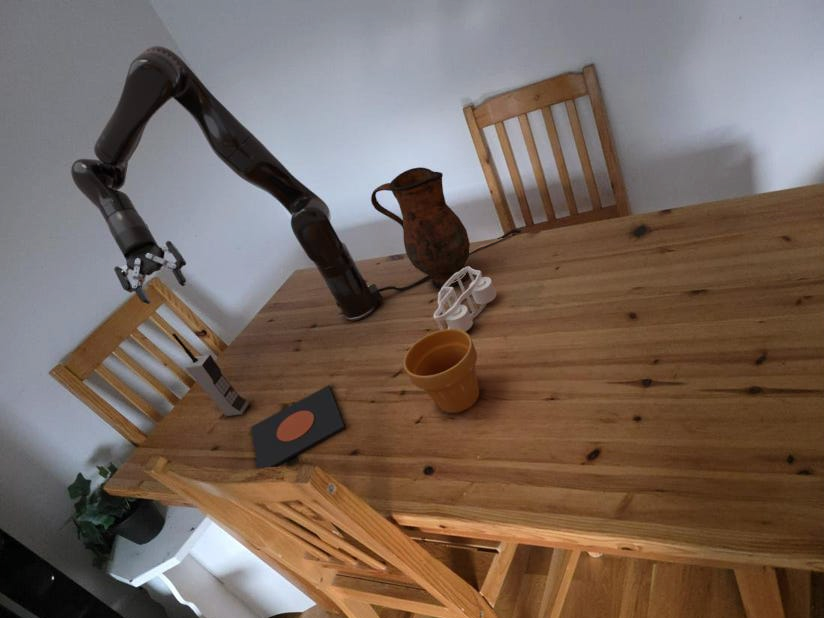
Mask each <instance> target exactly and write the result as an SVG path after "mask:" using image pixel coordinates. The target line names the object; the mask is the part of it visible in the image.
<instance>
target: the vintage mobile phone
mask: <svg viewBox="0 0 824 618" xmlns="http://www.w3.org/2000/svg"><path fill="white" fill-rule="evenodd" d="M171 335H172V337H173V338H174V339H175V340H176V342H177V343H178V344H179V345H180V346H181V347H182V349H183V350H184V352H185V353H186V354H187V356H188V357H189V358H190V361H189V363H188V364H187V365H186V367H185V369H186V371H187V372H188V373H189V374H190V375H191V377H192V378H193V379H194V380H195V381H196V383H198V385H199V386H200V388H201V389H202V390H203V391H204V392H205V393H206V394H207V396H209V398H210V399H211V400H212V401H213V403H214V404H215V405H216V406H217V407H218V408H219V410H220V411H221V412H222V413H223V414H224V416H226V417H233V416H242V415H243V414H244V413H245V411H246V409H247V408H248V406H249V404H250V403H249V401H248V400H246V399H245V398H244V397H242V396H241V395H240V394H239V393H238V392H237V391H236V389H235V388H234V387H233V386H232V384H231V383H230V381H228V379H227V378H226V377H225V376H224V374H223V373H222V369H221V368H220V367H219V365H218V364H217V362H216V361H215V359H214V358H213V356H212V355H211V354H203V355H198V356H194V354H193V353H192V352H191V350H190V349H189V348H188V347H187V346H186V345H185V344H184V343H183V342H182V341H181V339H180V338H179V337H178V336H177V334H176V333H175V332H174V333H172V334H171Z"/></svg>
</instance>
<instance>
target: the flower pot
mask: <svg viewBox="0 0 824 618" xmlns="http://www.w3.org/2000/svg"><path fill="white" fill-rule="evenodd" d="M443 329H444V330H440V329H439V330H436V331H434V332H431V333H429V334H426V335H425V336H422V337H421V338H420V339H418V340H417V341H416V342H415V343H414V344H412V346H411V347H410V348H409V349H408V350H407V352H406V354H405V356H404V358H403V369H404V370H405V372H406V374H407V376H408V378H409V379H410V381H411V383H412V384H413V385H414V386H415V387H417V388H419V389H420V390H423V391H424V392H425V393H426V394H427V395H428V396H429V397H430V398H431V400H432V401H433V402H434V403H435V404H436V405H437V406H438V407H439V408H440V409H441V411H443V412H445V413H448V414H457V413H461V412H464V411H466V410H467V409H469V408H471V407H472V406H473V405H474V404H475V403H476V402H477V401H478V399H479V397H480V387H479V381H478V375H477V368H476V364H477V358H478V353H477V349H476V347H475V344H474V342H473V340H472V338H471V336H470V334H469V333H467V331H465V332H464V331H462V330H459V329H448V328H443Z"/></svg>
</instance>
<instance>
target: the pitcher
mask: <svg viewBox="0 0 824 618" xmlns="http://www.w3.org/2000/svg"><path fill="white" fill-rule="evenodd" d="M443 176H444V175H443V172H441V171H434V170H431V169H430V168H427V167H422V166H421V167H414V168H410V169H409V168H408V169H407V170H405V171H403V172H401V173H399V174H398V175H396V176H395V177H394V178H393V179H392V180H391V182H387V183H383V184H381V185H379V186H377V187H376V188H375V189H374V190H373V191H372V193H371V197H370V202H371V205H372V206H373V208H374V209H375V210H376V211H377V212H379V213H381V214H382V215H383V216H386V217H388V218H389V219H391V220H393V221H395V222H396V223H398V224H399V225H400V226H401V227H402V231H403V244H404V245H403V246H404V249H405V254H406V256H407V258H408V260H409V261H410V263H411V264H412V266H413V267H414V268H415V269H416V270H419V271H420V272H422V273H423V274H425V275H426V276H428V275H430V276H432V277H433V278H432V280H431V282H432V287H434V288H436V289H439V290H441V288H442V287H443V285H444V284H445V283H446V282H447V281H448V280H449V279H450V278H451V277H452V276H453V275H454V274H455V273H456V272H459V271H460V270H462V269H463V268H464V267H467V266H466V263H467V261H468V259H469V255H470V254H469V251H470V246H471V245H470V244H471V243H470V239H469V235H468V231H467V229H466V227H465V225H464V224H463V222H462V220H461V218H460V217H459V216H458V215H457V214H456V213H455V212H454V211H453V210H452V209H451V207H450V206H449V205H448V204H447V202H446V198H445V194H444V187H443ZM381 191H388V192H391V193H392V195H393V196H394V198H395V199H396V201H397V203H398V207H399V208H400V212H401V217H402V218H401V217H400V216H399V215H397V214H396V213H393V212H392V211H391V210H389V209H387V208H385V207H384V206H382V204H380V202H379V201H378V199H377V193H379V192H381ZM463 275H464V274H463ZM463 275H462V276H463ZM462 276H460V278H461V277H462ZM469 278H470V276H469V273H468V272H467V273H466V275H465V276H464V277H463V278H462V279H461V282H462V284H464V283H465V282H466V281H468V279H469ZM456 280H457V279H455V280H454V281H456ZM454 281H453V282H454ZM458 286H460V285H459V283H458V281H456V282H454V283H451V284H450V286H449V287H453V288H455V287H458Z"/></svg>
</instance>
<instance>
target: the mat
mask: <svg viewBox="0 0 824 618" xmlns="http://www.w3.org/2000/svg"><path fill="white" fill-rule="evenodd" d="M344 430H346V426H345V422H344V420H343V418H342V414H341V412H340V409H339V406H338V404H337V400H336V398H335V396H334V392H333V389H332V387H331V386H330V385H329V384H328V385H326V386H324V387H323V388H321V389H319V390H316V391H315V392H314V393H311V394H310V395H308V396H306V397H304V398H302V399H300V400H299V401H297V402H294V403H293V404H291V405H290V406H287V407H286V408H284V409H282V410H280V411H278V412H276V413H274V414H273V415H271V416H269V417H266V418H265V419H264V420H260V422H258V423H256V424H254V425H252V426H251V431H252V439H253V444H254V445H253V446H254V452H255V458H256V466H257V469H258V468H264V467H274V466H276V467H278V466H280V465H282V464H284V463H285V462H288V461H289V460H291V459H293V458H294V457H296V456H299V455H300V454H302V453H304V452H305V451H307V450H309V449H311V448H313V447H315V446H317V445H318V444H321V443H322V442H324V441H325V440H328V439H329V438H331V437H333V436H335V435H337V434H338V433H340V432H342V431H344Z"/></svg>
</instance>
